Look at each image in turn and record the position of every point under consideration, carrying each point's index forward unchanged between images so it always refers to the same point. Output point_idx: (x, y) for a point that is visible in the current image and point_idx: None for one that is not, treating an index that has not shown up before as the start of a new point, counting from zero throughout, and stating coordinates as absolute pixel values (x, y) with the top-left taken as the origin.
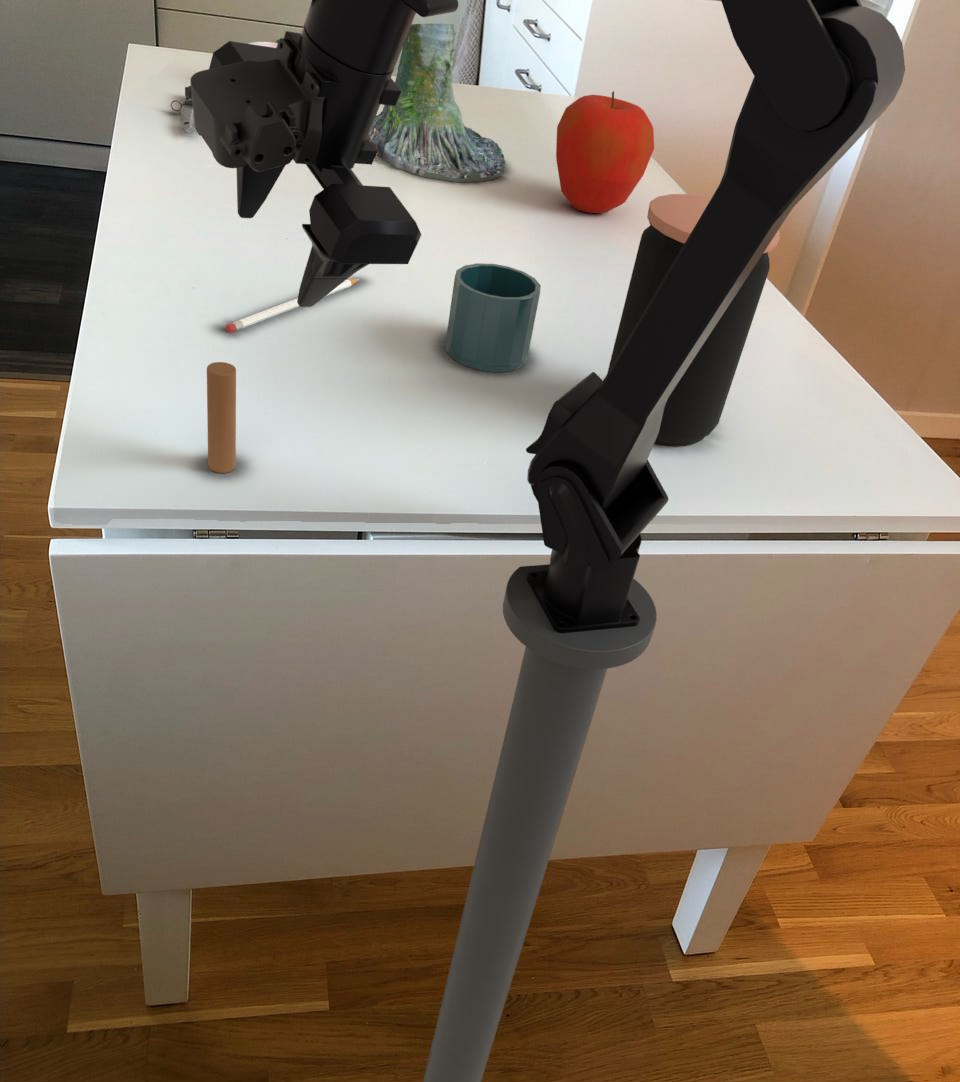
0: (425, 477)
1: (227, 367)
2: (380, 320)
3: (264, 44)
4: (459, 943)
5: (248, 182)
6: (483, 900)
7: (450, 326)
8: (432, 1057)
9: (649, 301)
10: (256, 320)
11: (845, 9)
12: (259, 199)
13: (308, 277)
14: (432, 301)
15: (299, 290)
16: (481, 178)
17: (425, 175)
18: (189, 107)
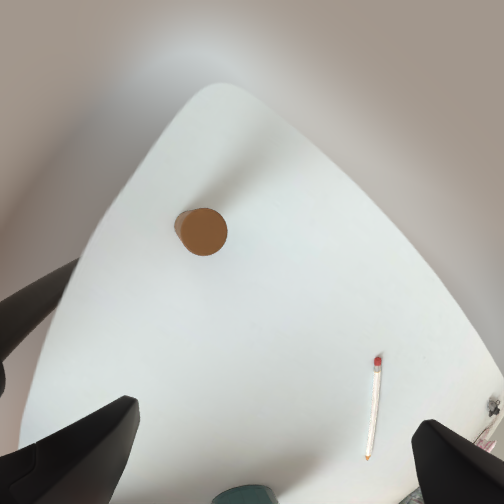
0: (85, 384)
1: (202, 242)
2: (322, 461)
3: (492, 447)
4: (71, 267)
5: (462, 472)
6: (50, 273)
7: (265, 499)
8: None
9: None
10: (374, 384)
11: None
12: (425, 471)
13: (58, 442)
14: (319, 491)
15: (120, 417)
16: None
17: (406, 497)
18: (494, 408)
